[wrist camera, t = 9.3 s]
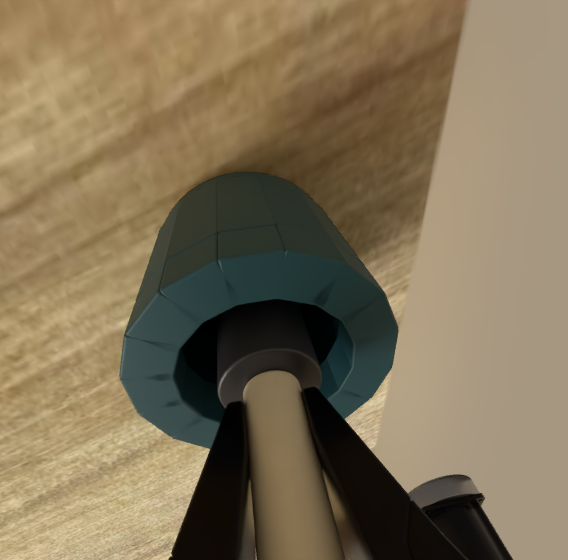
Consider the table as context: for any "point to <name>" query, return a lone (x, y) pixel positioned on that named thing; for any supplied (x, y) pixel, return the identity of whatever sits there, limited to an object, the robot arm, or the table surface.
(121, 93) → the table surface
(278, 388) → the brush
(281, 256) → the teal faceted cup
